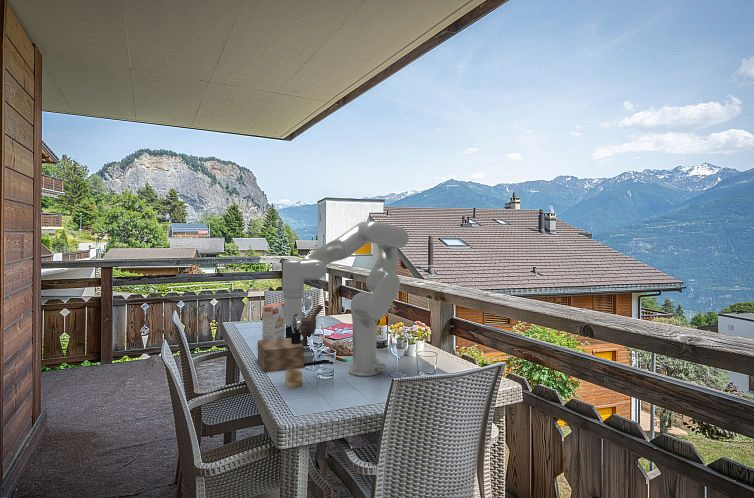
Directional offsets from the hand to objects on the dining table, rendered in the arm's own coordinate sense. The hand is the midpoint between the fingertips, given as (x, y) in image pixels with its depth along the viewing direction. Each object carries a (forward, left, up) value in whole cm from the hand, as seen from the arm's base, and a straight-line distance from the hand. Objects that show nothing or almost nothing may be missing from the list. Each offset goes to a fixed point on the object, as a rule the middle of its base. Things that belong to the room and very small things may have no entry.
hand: (293, 340), depth 156 cm
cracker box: (+35, -47, -16) cm, 61 cm away
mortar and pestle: (+20, -57, -16) cm, 63 cm away
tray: (+8, -30, -16) cm, 35 cm away
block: (0, 0, -16) cm, 16 cm away
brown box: (+17, -22, -16) cm, 32 cm away
